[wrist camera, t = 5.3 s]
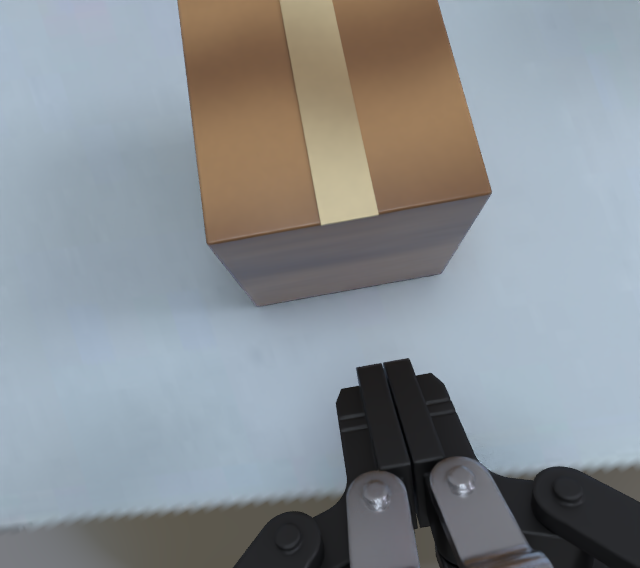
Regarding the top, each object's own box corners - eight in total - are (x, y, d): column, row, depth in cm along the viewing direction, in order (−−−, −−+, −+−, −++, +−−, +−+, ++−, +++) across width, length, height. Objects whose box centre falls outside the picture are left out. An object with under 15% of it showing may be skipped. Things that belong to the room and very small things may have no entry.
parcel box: (442, 275, 22) (494, 193, 14) (256, 308, 22) (205, 245, 14) (397, 91, 24) (420, -66, 16) (229, 121, 24) (174, -20, 17)
